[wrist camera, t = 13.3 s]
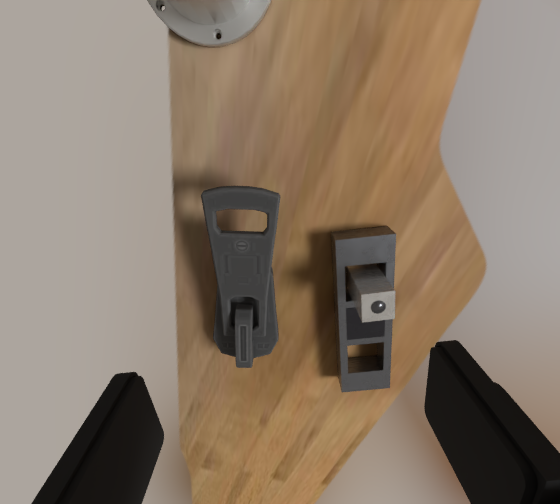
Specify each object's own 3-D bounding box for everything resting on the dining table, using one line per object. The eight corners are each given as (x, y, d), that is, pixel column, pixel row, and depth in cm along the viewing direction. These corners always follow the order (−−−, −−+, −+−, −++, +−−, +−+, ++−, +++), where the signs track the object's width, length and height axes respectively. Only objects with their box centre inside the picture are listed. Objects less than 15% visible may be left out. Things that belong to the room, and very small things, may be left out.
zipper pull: (286, 189, 29) (277, 383, 39) (284, 178, 35) (277, 348, 45) (193, 185, 29) (207, 382, 38) (207, 175, 35) (217, 347, 45)
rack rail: (330, 231, 38) (335, 240, 35) (387, 225, 37) (396, 233, 35) (337, 376, 47) (341, 392, 44) (382, 372, 47) (389, 388, 44)
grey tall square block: (345, 263, 39) (361, 295, 32) (372, 259, 39) (395, 291, 32) (346, 286, 41) (362, 322, 33) (373, 283, 41) (394, 319, 33)
